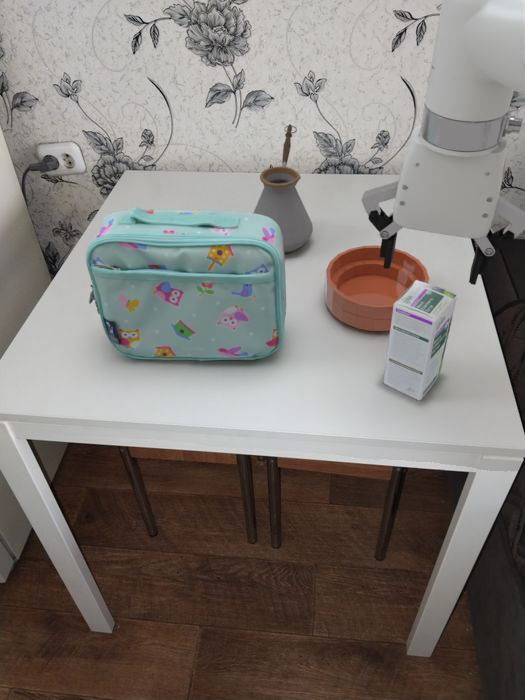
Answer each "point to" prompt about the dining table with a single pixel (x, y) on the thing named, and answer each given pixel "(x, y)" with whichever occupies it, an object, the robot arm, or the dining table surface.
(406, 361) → the syrup box
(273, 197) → the coffee pot
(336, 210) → the dining table surface
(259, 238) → the lunch box
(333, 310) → the bowl
